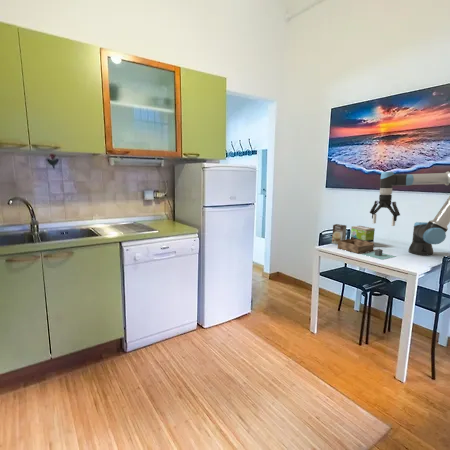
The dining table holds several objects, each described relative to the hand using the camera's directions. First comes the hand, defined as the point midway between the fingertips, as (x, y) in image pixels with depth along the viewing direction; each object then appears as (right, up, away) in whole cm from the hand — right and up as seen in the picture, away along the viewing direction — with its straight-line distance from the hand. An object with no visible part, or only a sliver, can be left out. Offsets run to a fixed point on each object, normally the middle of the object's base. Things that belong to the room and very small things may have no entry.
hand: (383, 224), depth 199 cm
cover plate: (-2, -23, +3) cm, 23 cm away
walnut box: (-11, -19, +19) cm, 29 cm away
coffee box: (-16, -16, +39) cm, 45 cm away
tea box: (+2, -17, +36) cm, 40 cm away
